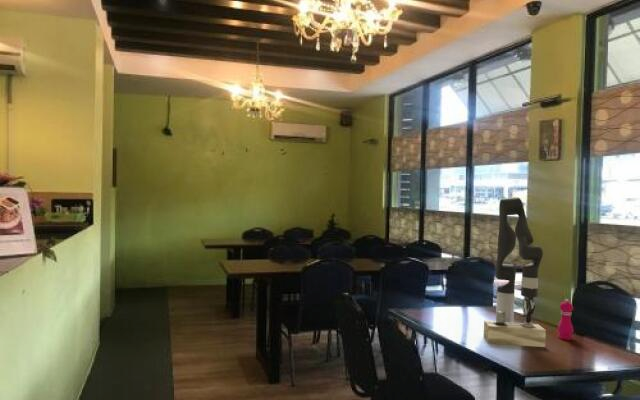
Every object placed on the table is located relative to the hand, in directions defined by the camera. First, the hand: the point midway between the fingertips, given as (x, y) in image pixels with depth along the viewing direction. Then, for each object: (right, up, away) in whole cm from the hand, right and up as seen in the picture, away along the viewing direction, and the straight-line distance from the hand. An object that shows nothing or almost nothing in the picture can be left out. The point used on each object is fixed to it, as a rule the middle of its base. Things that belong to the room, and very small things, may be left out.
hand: (528, 322), depth 247 cm
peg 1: (-13, -4, +2) cm, 14 cm away
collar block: (-7, -10, +1) cm, 12 cm away
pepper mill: (+24, -11, +12) cm, 29 cm away
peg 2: (0, -8, 0) cm, 8 cm away
